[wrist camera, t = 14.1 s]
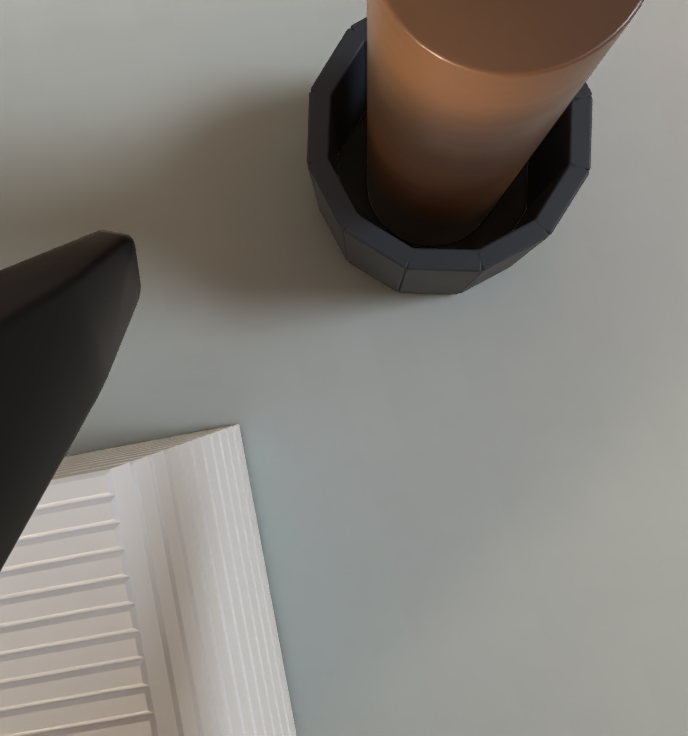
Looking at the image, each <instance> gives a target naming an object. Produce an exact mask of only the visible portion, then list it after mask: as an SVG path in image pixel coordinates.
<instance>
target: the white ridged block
mask: <svg viewBox="0 0 688 736" xmlns="http://www.w3.org/2000/svg"><path fill="white" fill-rule="evenodd" d="M0 736H297V735H296V730H295V724H294V719H293V714H292V708H291V703H290V697H289V692H288V687H287V681H286V676H285V670H284V665H283V659H282V654H281V649H280V643H279V638H278V632H277V627H276V622H275V616H274V611H273V605H272V600H271V594H270V589H269V584H268V578H267V573H266V567H265V562H264V557H263V551H262V546H261V540H260V535H259V530H258V524H257V519H256V513H255V508H254V502H253V497H252V492H251V486H250V481H249V475H248V470H247V465H246V459H245V454H244V448H243V443H242V438H241V432H240V427H239V424H236V425H231V426H225V427H220V428H215V429H209V430H204V431H199V432H193V433H188V434H183V435H177V436H172V437H167V438H162V439H156V440H151V441H146V442H140V443H135V444H130V445H124V446H119V447H114V448H108V449H103V450H98V451H92V452H87V453H82V454H76V455H71V456H66V457H64V458H63V460H62V462H61V464H60V466H59V467H58V469H57V471H56V473H55V475H54V476H53V478H52V480H51V482H50V484H49V485H48V487H47V489H46V491H45V493H44V494H43V496H42V498H41V500H40V502H39V503H38V505H37V507H36V509H35V511H34V512H33V514H32V516H31V518H30V519H29V521H28V523H27V525H26V527H25V528H24V530H23V532H22V534H21V536H20V537H19V539H18V541H17V543H16V545H15V546H14V548H13V550H12V552H11V554H10V555H9V557H8V559H7V561H6V563H5V564H4V566H3V568H2V570H1V571H0Z"/></svg>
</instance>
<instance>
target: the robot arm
mask: <svg viewBox="0 0 688 736" xmlns="http://www.w3.org/2000/svg"><path fill="white" fill-rule="evenodd" d="M140 289H141V284H140V276H139V269H138V262H137V255H136V248H135V244H134V241H133V239H132V238H131V237H130V236H129V235H127V234H123V233H117V232H112V231H107V230H100V231H97V232H94V233H92V234H89V235H87V236H84V237H82V238H79V239H77V240H74V241H72V242H69V243H67V244H64V245H62V246H59V247H57V248H54V249H52V250H49V251H47V252H45V253H42V254H40V255H37V256H35V257H32V258H30V259H27V260H25V261H22V262H20V263H17V264H15V265H12V266H10V267H7V268H5V269H2V270H0V571H1V570H2V568H3V566H4V564H5V563H6V561H7V559H8V557H9V555H10V554H11V552H12V550H13V548H14V546H15V545H16V543H17V541H18V539H19V537H20V536H21V534H22V532H23V530H24V528H25V527H26V525H27V523H28V521H29V519H30V518H31V516H32V514H33V512H34V511H35V509H36V507H37V505H38V503H39V502H40V500H41V498H42V496H43V494H44V493H45V491H46V489H47V487H48V485H49V484H50V482H51V480H52V478H53V476H54V475H55V473H56V471H57V469H58V467H59V466H60V464H61V462H62V460H63V458H64V457H65V455H66V453H67V451H68V450H69V448H70V446H71V444H72V442H73V441H74V439H75V437H76V435H77V433H78V432H79V430H80V428H81V426H82V424H83V423H84V421H85V419H86V417H87V415H88V414H89V412H90V410H91V408H92V406H93V405H94V403H95V401H96V399H97V397H98V395H99V393H100V392H101V390H102V388H103V386H104V383H105V381H106V379H107V377H108V374H109V372H110V370H111V367H112V365H113V362H114V360H115V357H116V355H117V352H118V350H119V347H120V345H121V342H122V340H123V337H124V335H125V332H126V330H127V327H128V325H129V322H130V320H131V317H132V315H133V312H134V310H135V308H136V305H137V303H138V300H139V296H140Z"/></svg>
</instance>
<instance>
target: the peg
mask: <svg viewBox="0 0 688 736" xmlns="http://www.w3.org/2000/svg"><path fill="white" fill-rule="evenodd" d="M643 1H644V0H367V190H368V196H369V199H370V203H371V206H372V208H373V210H374V212H375V214H376V215H377V217H378V219H379V220H380V221H381V222H382V224H383V225H384V226H385V227H386V228H387V229H388V230H389V231H390V232H392V233H393V234H395V235H396V236H397V237H399V238H401V239H403V240H405V241H408V242H410V243H413V244H418V245H423V246H440V245H446V244H450V243H453V242H456V241H458V240H460V239H462V238H464V237H466V236H467V235H469V234H470V233H472V232H473V231H474V230H475V229H477V227H478V226H479V225H480V224H481V223H482V222H483V221H484V219H485V218H486V217H487V215H488V214H489V213H490V211H491V210H492V209H493V207H494V206H495V204H496V203H497V202H498V200H499V199H500V198H501V196H502V195H503V194H504V192H505V191H506V190H507V188H508V187H509V185H510V184H511V183H512V181H513V180H514V179H515V177H516V176H517V175H518V173H519V172H520V170H521V169H522V168H523V166H524V165H525V164H526V162H527V161H528V160H529V158H530V157H531V155H532V154H533V153H534V151H535V150H536V149H537V147H538V146H539V145H540V143H541V142H542V141H543V139H544V138H545V136H546V135H547V134H548V132H549V131H550V130H551V128H552V127H553V126H554V124H555V123H556V121H557V120H558V119H559V117H560V116H561V115H562V113H563V112H564V111H565V109H566V108H567V106H568V105H569V104H570V102H571V101H572V100H573V98H574V97H575V96H576V94H577V93H578V91H579V90H580V89H581V87H582V86H583V85H584V83H585V82H586V81H587V79H588V78H589V77H590V75H591V74H592V72H593V71H594V70H595V68H596V67H597V66H598V64H599V63H600V62H601V60H602V59H603V57H604V56H605V55H606V53H607V52H608V51H609V49H610V48H611V47H612V45H613V44H614V42H615V41H616V40H617V38H618V37H619V36H620V34H621V33H622V32H623V30H624V29H625V28H626V26H627V25H628V23H629V22H630V21H631V19H632V18H633V17H634V15H635V14H636V12H637V11H638V10H639V8H640V7H641V5H642V3H643Z"/></svg>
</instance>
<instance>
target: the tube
mask: <svg viewBox="0 0 688 736" xmlns="http://www.w3.org/2000/svg"><path fill="white" fill-rule="evenodd" d="M591 95H592V93H591V91H590V89H589V87H588V85H587V84H586V82H585V83H584V85H583V86H582V87H581V89H580V90H579V91H578V93H577V94H576V96H575V97H574V98H573V100H572V101H571V102H570V104H569V105H568V106H567V108H566V109H565V111H564V112H563V113H562V115H561V116H560V117H559V119H558V120H557V121H556V123H555V124H554V126H553V127H552V128H551V130H550V131H549V132H548V134H547V135H546V136H545V138H544V139H543V141H542V142H541V143H540V145H539V146H538V147H537V149H536V150H535V151H534V153H533V154H532V155H531V157H530V158H529V160H528V177H527V209H526V211H525V212H524V214H523V215H522V217H521V219H520V220H519V222H518V223H517V225H516V227H515V228H514V230H513V231H511V232H509V233H507V234H506V235H504V236H502V237H500V238H498V239H496V240H494V241H492V242H491V243H489V244H487V245H485V246H483V247H481V248H479V249H478V250H467V249H429V248H412V247H410V246H409V245H407V244H405V243H404V242H402V241H400V240H399V239H397V238H395V237H394V236H392V235H391V234H389V233H387V232H386V231H384V230H382V229H381V228H379V227H377V226H376V225H374V224H373V223H371V222H369V221H368V220H366V219H364V218H363V217H361V216H359V214H358V213H357V211H356V209H355V207H354V205H353V203H352V201H351V200H350V198H349V196H348V194H347V192H346V190H345V188H344V187H343V185H342V183H341V181H340V179H339V177H338V154H339V153H340V151H341V150H342V148H343V146H344V145H345V143H346V141H347V140H348V138H349V137H350V135H351V133H352V132H353V130H354V129H355V127H356V125H357V124H358V122H359V121H360V119H361V117H362V116H363V114H364V113H365V111H367V17H366V18H364V19H362V20H361V21H359V22H357V23H355V24H353V25H352V26H351V29H348V30H347V31H346V33H345V34H344V36H343V38H342V39H341V41H340V42H339V44H338V46H337V47H336V49H335V50H334V52H333V54H332V55H331V57H330V59H329V60H328V62H327V63H326V65H325V67H324V68H323V70H322V71H321V73H320V75H319V76H318V78H317V79H316V81H315V83H314V84H313V86H312V87H311V92H310V93H309V115H308V143H307V164H308V169H309V173H310V177H311V180H312V184H313V187H314V191H315V195H316V198H317V202H318V205H319V209H320V212H321V213H322V215H323V217H324V219H325V221H326V223H327V225H328V227H329V228H330V230H331V232H332V234H333V236H334V238H335V240H336V241H337V243H338V245H339V247H340V249H341V251H342V253H343V255H344V256H345V258H346V260H348V261H349V263H351V264H353V265H354V266H356V267H357V268H359V269H361V270H362V271H364V272H366V273H367V274H369V275H370V276H372V277H374V278H375V279H377V280H379V281H380V282H382V283H383V284H385V285H387V286H388V287H390V288H392V289H393V290H395V291H399V292H400V293H431V294H458V293H462V292H464V291H466V290H468V289H469V288H471V287H473V286H475V285H477V284H479V283H481V282H483V281H484V280H486V279H488V278H490V277H492V276H494V275H496V274H498V273H499V272H501V271H503V270H505V269H507V268H509V267H510V266H512V265H513V264H514V263H515V262H517V261H518V260H519V259H521V258H522V257H523V256H524V255H526V254H527V253H528V252H529V251H531V250H532V249H533V248H535V247H536V246H537V245H538V244H540V243H541V242H542V241H543V240H545V239H546V238H547V237H548V236H549V235H550V234H551V233H552V232H553V230H554V229H555V227H556V226H557V224H558V222H559V221H560V219H561V218H562V216H563V214H564V213H565V211H566V210H567V208H568V206H569V205H570V203H571V202H572V200H573V198H574V197H575V195H576V194H577V192H578V190H579V189H580V187H581V186H582V184H583V182H584V181H585V179H586V178H587V176H588V174H589V170H590V166H591V131H592V97H591Z"/></svg>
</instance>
